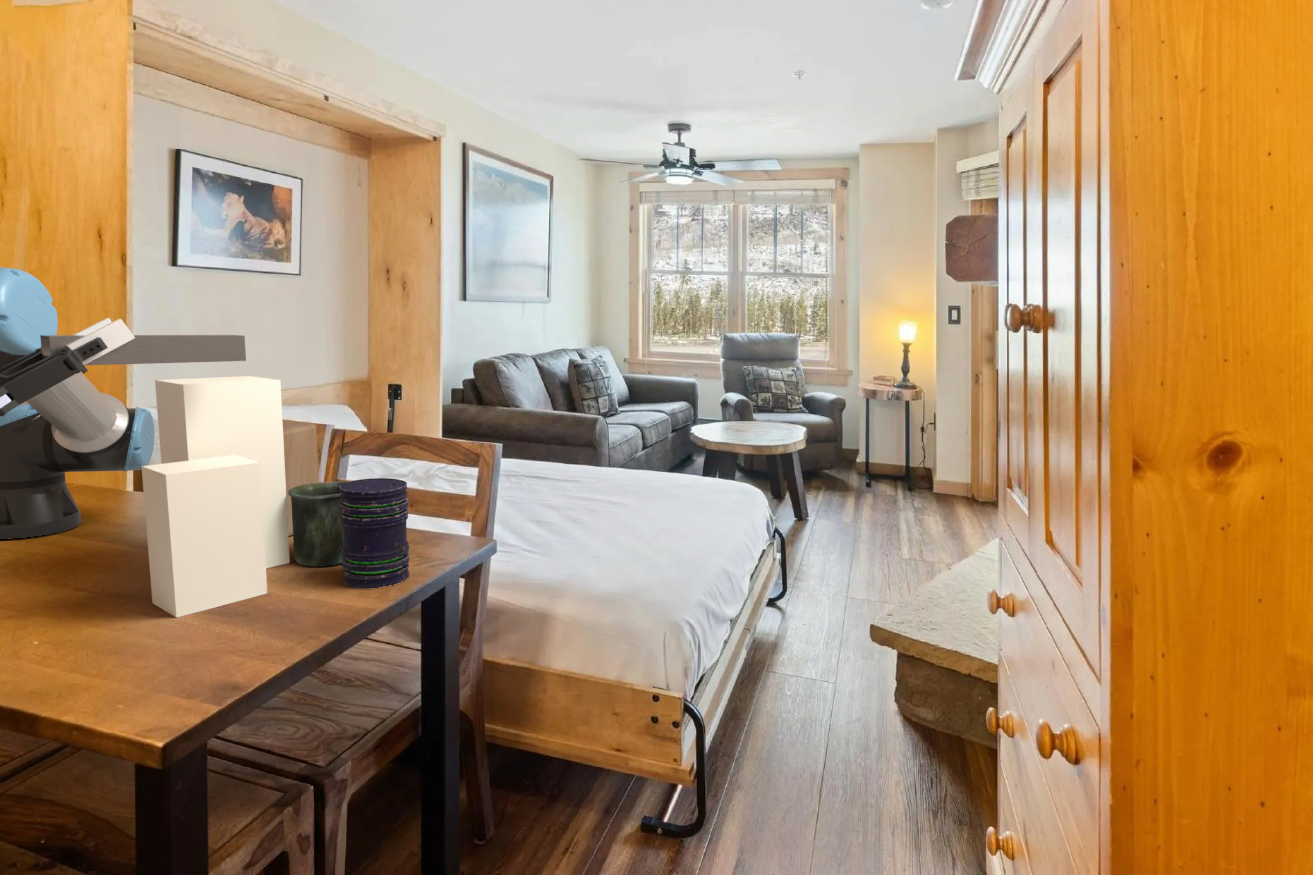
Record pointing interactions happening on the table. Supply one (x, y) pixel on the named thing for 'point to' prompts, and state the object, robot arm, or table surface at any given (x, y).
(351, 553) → the dark purple barrel
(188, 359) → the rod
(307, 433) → the block
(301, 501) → the mug
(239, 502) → the step
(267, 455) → the stand
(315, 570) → the table surface
